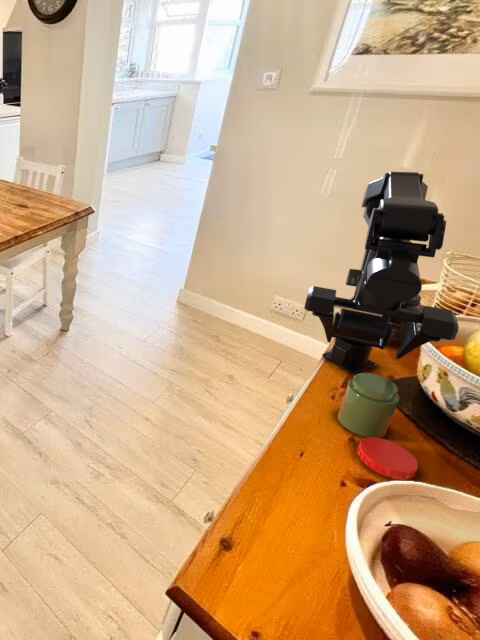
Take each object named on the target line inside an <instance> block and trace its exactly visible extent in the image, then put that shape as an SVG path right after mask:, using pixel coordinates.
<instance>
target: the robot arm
mask: <svg viewBox="0 0 480 640" xmlns="http://www.w3.org/2000/svg"><path fill="white" fill-rule="evenodd" d="M423 179H424V174H423V173H419V172H416V171H389V172H385V173H384V174H383V176H382V177H381V178H379V179H376V180H374V181H372V182H369V183H368V184H367V186H366V189H365V190H364V194H363V197H362V201H361V206H360V207H361V208H364V210H363V219H364V221H365V222H366V225H367V226H368V227H367V232H366V237H365V242H364V252H363V257H362V261H361V265H360V269H355V268H349V269H348V272H347V275H346V279H345V285H346V286H350V287H355V289H354V293H353V294H354V295H353V296H352V297H350V298H345V297H339V296H337V289H333V288H328V287H321V286H316V285H312V286H311V287H309V288H308V291H307V294H306V299H305V302H304V303H305V304H304V308H303V309H304V310H306V311H307V312H311V314H312V316H314V317H318V318H319V321H320V322H321V324H322V327H323V330H324V334H325V338H326V341H327V343H329V344H330V343H331V341H332V338H334V342H333V345H332V348H331V350H330V351H327V352H324V353H322V355H321V356H322V357H323V358H325V359H326V360H327V361H329V362H331V363H333V364H335V365H336V366H339V367H340V368H342V369H344V370H346V371H348V372H349V373H351V374H358V373H361V372H362V371H365V370H368V369H372V368H375V367H376V366H377V363H376V362H374V361H372V360H370V356H371V353H372V350H373V348H377V349H380V350H384V349H385V347H389V346H388V344H389V341H390V339H391V338H392V336H393V335H394V333H395V331H394V330H393V329H392V323H390V322H389V318H392V319H397V320H402V321H407V322H411V325H410V327H409V330H408V332H407V333H406V335H405V337H404V339H403V340H402V342H401V344H400V346H399V347H398V348H397V350H396V353H395V359H396V360H400V359H402V358H403V357H405V356H406V355H408V354H409V353H411V352H412V351H414V350H415V349H417V348H420V347H422V346H423V345H425V344H427V343H430V342H435V343H439V342H441V340H446V341H455V340H456V337H457V335H458V332H459V329H460V328H459V327H460V326H459V321H458V319H457V316H456V314H455V312H453V310H452V309H445V308H441V307H435V306H430V305H429V306H428V305H425V304H424V305H423V304H420V305H419V310H418V312H415V311H410V310H405V309H400V307H401V304H402V302H404V301H408V300H410V299H413V298H415V297H416V296H417V295H420V293H421V291H422V288H423V285H422V279H421V274H420V269H419V264H418V260H419V257H427V258H435V256H436V253H437V250H438V251H439V250H441V249H442V248H443V245H444V239H445V233H446V227H447V220H446V219H445V215H444V213H442V212H441V213H440V212H439V207H438V205H437V203H435V201H430V200H427V199H426V197H427V193H428V189H429V186H428V185H427V184H426V183H425V182H424V181H423ZM412 241H413V242H412ZM420 242H422V243H420ZM423 242H424V243H423ZM426 242H428V245H427V243H426ZM335 308H336V309H339V311H335Z"/></svg>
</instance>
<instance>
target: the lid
mask: <svg viewBox="0 0 480 640" xmlns="http://www.w3.org/2000/svg"><path fill="white" fill-rule="evenodd" d="M357 445H358V446H357V448H356V450H357V451H356V454H357V456H358V458H359V459H360V461H361V462H362V463H363V464H364V465H366V466H367V467H368V468H369V469H370V470H372V471H373V472H375V473H377V474H380V475H382V476H384V477H385V478H386V477H387V478H389V479H393V480H399V481H407V480H411V479H412V478H414V477H415V475H416V474H417V471H418V467H419V463H418V460H417V458H416V457H415V456H414V455H413V453H411V452H410V451H409V450H407V449H406V448H404V447H403V446H401V445H399V444H398V443H396V442H394V441H391V440H389V439H385V438H383V437H381V438H376V437H364V438H362V439H361V440H360V442H359V443H358V444H357Z"/></svg>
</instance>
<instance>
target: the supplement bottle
mask: <svg viewBox="0 0 480 640" xmlns="http://www.w3.org/2000/svg"><path fill="white" fill-rule="evenodd" d="M421 300H422V296H421V295H420V294H418V295H417V296H416V297H415V298H413V299H410V300H408V301H404V302H402V304H401V307H400V309H405V310H410V311H415V312H418V310H419V307H420V306H421ZM389 322H390V323H392V329H393V330H394V331H395V333H394V335H393V336H392V338H391V339H390V341H389V344H388V346H387V347H390V348H397V349H398V347H399V346H400V344H401V342H402V340H403V339H404V337H405V335H406V333H407V332H408V330H409V327H410V325H411V322H407V321H402V320H397V319H392V318H389Z"/></svg>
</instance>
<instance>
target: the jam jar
mask: <svg viewBox="0 0 480 640" xmlns="http://www.w3.org/2000/svg"><path fill="white" fill-rule="evenodd" d="M398 392H399V387H398V386H397V385H396V384H395V383H394V382H393V381H391V380H390V379H388V378H386V377H384V376H381V375H379V374H375V373H370V372H358V373H356V374H355V375H354V376H353V377H352V379H350V380H349V381H348V383H347V386H346V389H345V391H344V395H343V398H342V401H341V404H340V408H339V410H338V413H337V420H338V422H339V423H340V424H341V426H343V427H344V428H345V429H347V430H348V431H349V432H351V433H354V434H356V435H358V436H361V437H364V438H368V437H376V438H383V437H385V436H386V434H387V431H388V429H389V426H390V424H391V421H392V419H393V417H394V413H395V411H396V409H397V406H398V403H399V401H400V395H399V394H398Z"/></svg>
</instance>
